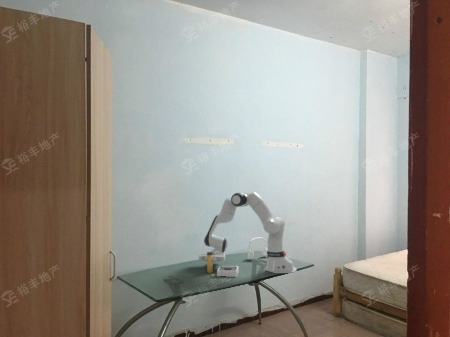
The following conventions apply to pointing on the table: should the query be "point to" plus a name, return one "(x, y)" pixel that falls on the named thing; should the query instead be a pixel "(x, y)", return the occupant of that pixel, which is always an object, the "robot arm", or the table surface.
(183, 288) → the table surface
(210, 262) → the cylinder
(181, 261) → the table surface
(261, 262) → the table surface
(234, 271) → the walled box
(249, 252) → the headset
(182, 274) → the table surface
